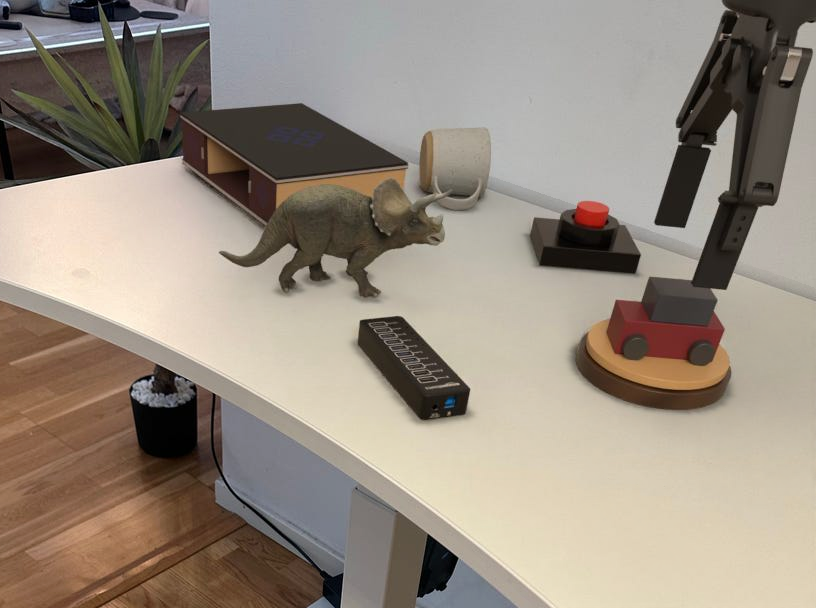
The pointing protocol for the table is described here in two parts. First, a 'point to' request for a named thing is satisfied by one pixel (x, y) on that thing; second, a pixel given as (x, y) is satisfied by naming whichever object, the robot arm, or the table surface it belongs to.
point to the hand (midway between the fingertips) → (687, 254)
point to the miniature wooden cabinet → (280, 155)
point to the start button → (591, 213)
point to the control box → (584, 244)
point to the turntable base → (646, 386)
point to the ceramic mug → (455, 164)
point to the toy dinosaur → (344, 230)
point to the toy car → (663, 337)
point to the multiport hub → (413, 368)
